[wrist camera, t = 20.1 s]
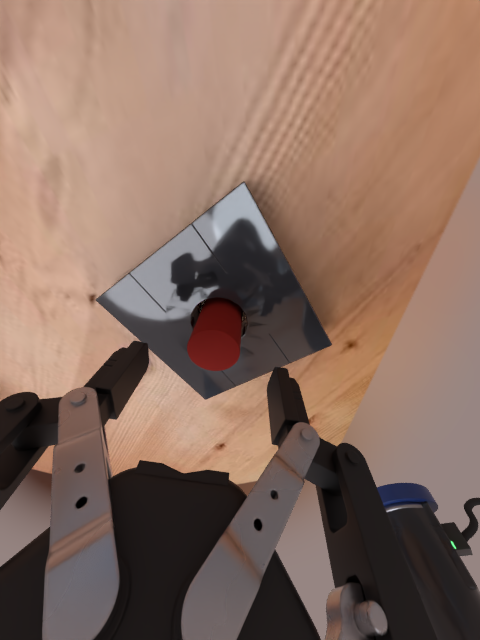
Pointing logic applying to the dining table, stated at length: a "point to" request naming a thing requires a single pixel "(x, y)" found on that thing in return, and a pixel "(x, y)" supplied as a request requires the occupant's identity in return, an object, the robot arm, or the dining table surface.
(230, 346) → the stopper
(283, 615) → the robot arm
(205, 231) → the grey square base
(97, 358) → the dining table surface
